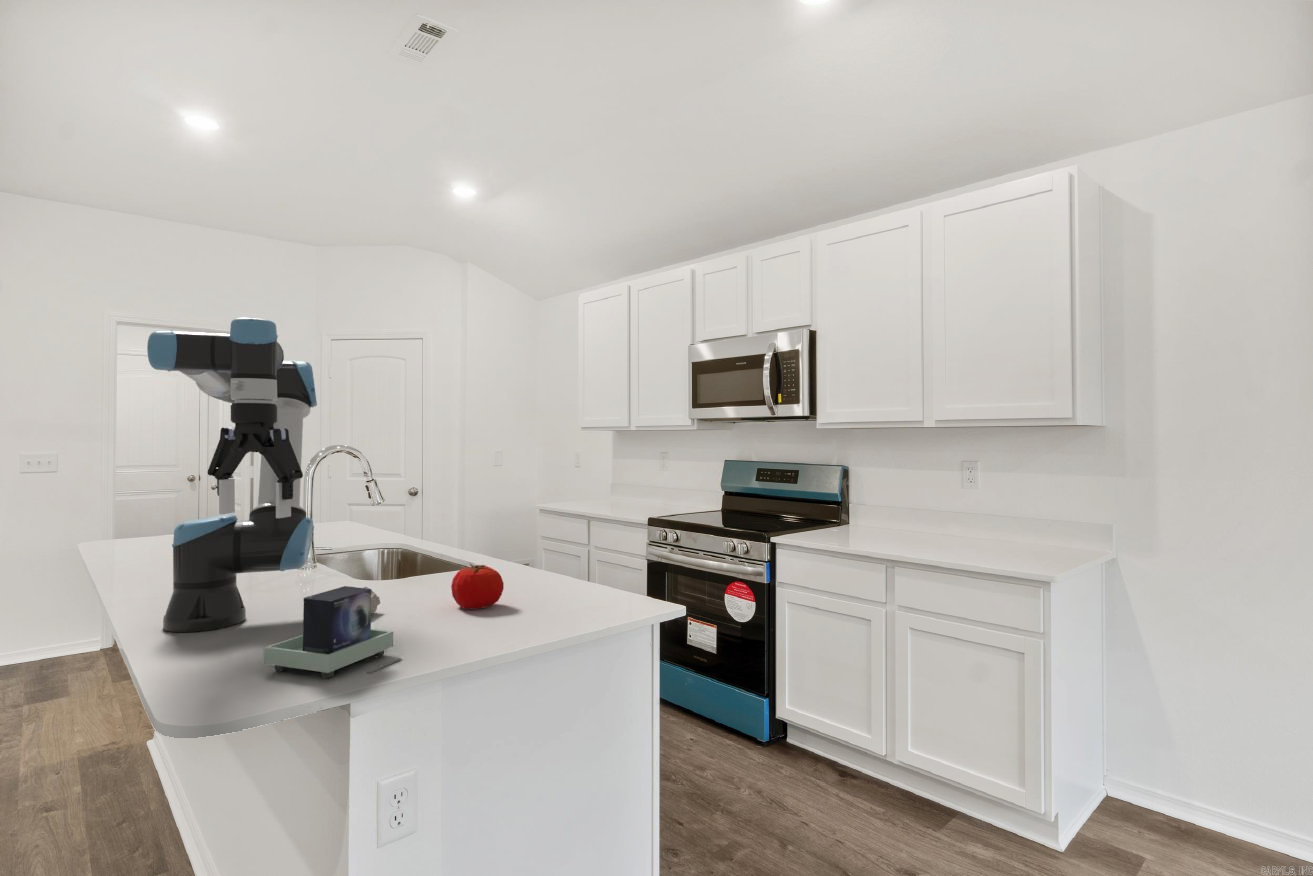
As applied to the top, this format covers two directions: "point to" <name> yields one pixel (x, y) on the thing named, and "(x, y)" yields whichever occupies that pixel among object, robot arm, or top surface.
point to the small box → (336, 619)
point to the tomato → (477, 587)
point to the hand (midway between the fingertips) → (254, 515)
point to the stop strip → (384, 665)
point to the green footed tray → (295, 657)
